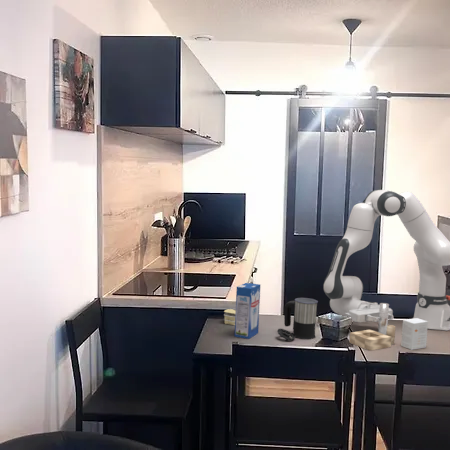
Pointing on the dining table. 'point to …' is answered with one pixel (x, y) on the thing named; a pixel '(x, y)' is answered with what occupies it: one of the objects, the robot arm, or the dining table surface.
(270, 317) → the dining table surface
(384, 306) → the steel pin
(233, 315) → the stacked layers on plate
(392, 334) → the beech stub
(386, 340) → the oak collar block
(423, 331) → the small box
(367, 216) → the robot arm
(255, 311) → the milk carton
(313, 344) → the dining table surface
